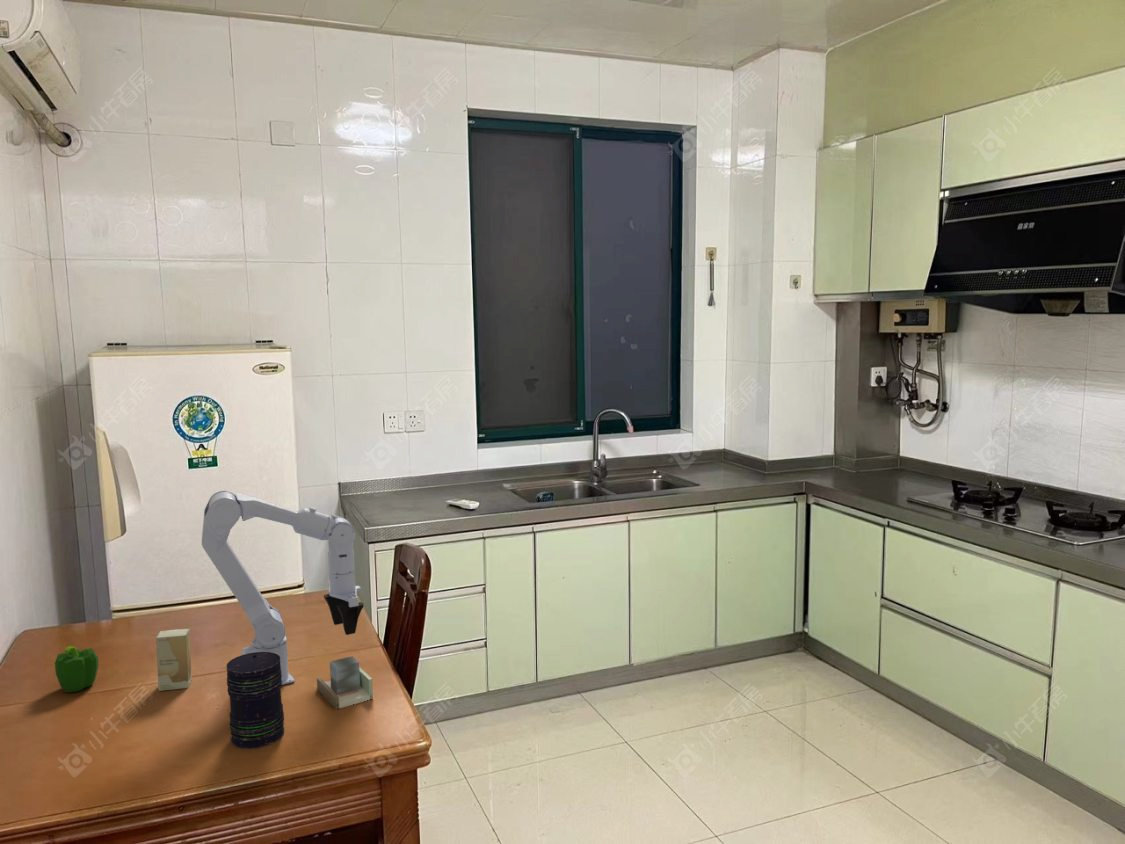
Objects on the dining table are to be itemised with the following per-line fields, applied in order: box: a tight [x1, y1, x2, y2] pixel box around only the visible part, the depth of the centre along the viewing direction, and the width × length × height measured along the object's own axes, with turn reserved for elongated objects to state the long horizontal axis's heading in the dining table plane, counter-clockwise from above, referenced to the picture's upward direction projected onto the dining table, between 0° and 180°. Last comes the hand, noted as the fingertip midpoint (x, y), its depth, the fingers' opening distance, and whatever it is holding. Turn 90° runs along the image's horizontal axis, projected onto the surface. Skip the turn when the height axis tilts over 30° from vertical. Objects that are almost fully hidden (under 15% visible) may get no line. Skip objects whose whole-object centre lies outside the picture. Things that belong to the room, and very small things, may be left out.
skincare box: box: [155, 628, 193, 692], centre depth 180 cm, size 6×4×12 cm
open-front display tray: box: [316, 666, 374, 710], centre depth 175 cm, size 8×12×4 cm, turn 34°
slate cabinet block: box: [329, 655, 360, 695], centre depth 175 cm, size 5×4×6 cm
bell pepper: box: [54, 645, 99, 693], centre depth 180 cm, size 8×8×10 cm
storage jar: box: [226, 652, 285, 750], centre depth 157 cm, size 10×10×15 cm
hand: (344, 628), depth 188 cm, fingers open, 7 cm apart
